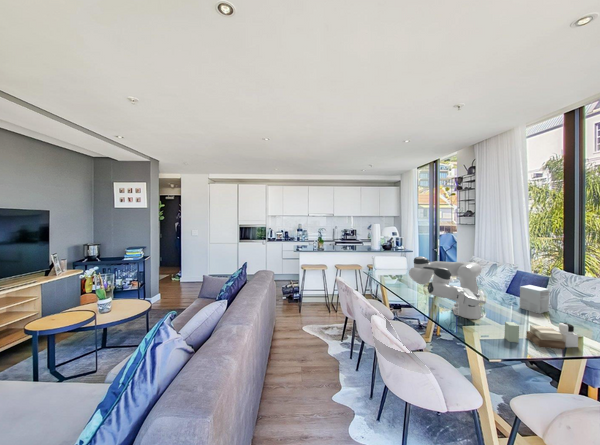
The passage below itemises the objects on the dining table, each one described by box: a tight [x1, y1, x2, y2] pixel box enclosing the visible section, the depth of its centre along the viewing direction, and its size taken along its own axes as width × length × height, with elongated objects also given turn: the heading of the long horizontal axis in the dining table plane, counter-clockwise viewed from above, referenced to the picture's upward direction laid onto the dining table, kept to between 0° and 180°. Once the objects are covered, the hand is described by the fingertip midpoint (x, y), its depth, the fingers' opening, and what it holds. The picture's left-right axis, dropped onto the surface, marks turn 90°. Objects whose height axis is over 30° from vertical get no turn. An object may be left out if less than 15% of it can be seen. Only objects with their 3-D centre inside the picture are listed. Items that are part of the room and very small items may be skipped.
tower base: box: [525, 330, 566, 350], centre depth 155 cm, size 12×12×4 cm
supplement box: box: [519, 284, 550, 314], centre depth 208 cm, size 13×13×18 cm
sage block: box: [504, 321, 520, 343], centre depth 159 cm, size 5×5×10 cm
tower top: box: [529, 324, 562, 341], centre depth 155 cm, size 10×10×4 cm
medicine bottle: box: [555, 322, 579, 348], centre depth 154 cm, size 7×7×12 cm
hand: (482, 299), depth 160 cm, fingers open, 8 cm apart
